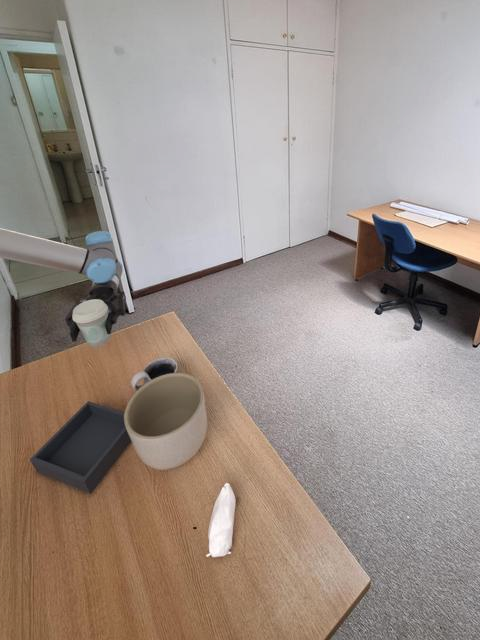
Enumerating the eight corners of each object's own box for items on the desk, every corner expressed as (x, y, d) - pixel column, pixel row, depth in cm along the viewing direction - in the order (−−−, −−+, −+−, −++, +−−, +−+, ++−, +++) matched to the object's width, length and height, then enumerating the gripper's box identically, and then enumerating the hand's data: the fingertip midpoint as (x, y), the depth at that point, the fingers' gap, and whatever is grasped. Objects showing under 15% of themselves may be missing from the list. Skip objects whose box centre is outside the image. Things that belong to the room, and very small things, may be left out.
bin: (36, 472, 75) (29, 459, 73) (93, 412, 88) (88, 400, 86) (90, 494, 71) (84, 481, 69) (140, 428, 84) (136, 416, 82)
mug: (188, 381, 98) (182, 356, 93) (153, 415, 88) (145, 389, 83) (165, 369, 102) (159, 345, 98) (130, 400, 92) (121, 375, 88)
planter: (225, 435, 83) (218, 393, 76) (167, 498, 70) (153, 455, 64) (182, 401, 92) (173, 362, 85) (124, 452, 79) (108, 411, 72)
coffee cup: (75, 348, 92) (62, 314, 87) (99, 328, 99) (88, 296, 94) (101, 353, 90) (89, 319, 85) (123, 332, 98) (113, 300, 92)
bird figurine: (211, 509, 70) (204, 563, 60) (214, 482, 68) (208, 533, 59) (234, 509, 70) (231, 562, 61) (238, 482, 69) (235, 533, 60)
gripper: (140, 291, 112) (135, 335, 93) (72, 304, 106) (50, 353, 86) (136, 273, 109) (129, 314, 89) (65, 284, 102) (41, 331, 83)
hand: (90, 333), depth 88 cm, fingers closed on coffee cup, 8 cm apart
